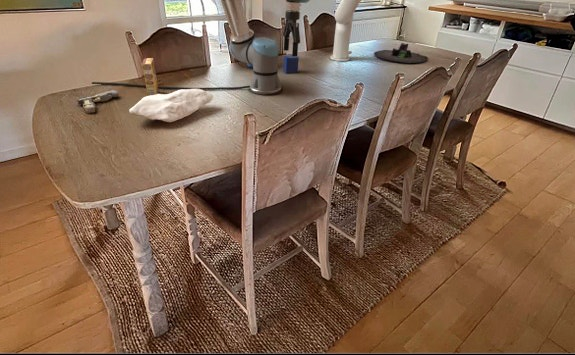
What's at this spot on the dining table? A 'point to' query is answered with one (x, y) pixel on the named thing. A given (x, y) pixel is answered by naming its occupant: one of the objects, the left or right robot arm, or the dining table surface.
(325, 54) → the dining table surface
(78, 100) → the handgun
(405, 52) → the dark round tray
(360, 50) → the dining table surface
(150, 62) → the candy box
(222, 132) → the dining table surface
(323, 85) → the dining table surface
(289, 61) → the block
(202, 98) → the crumpled cloth
